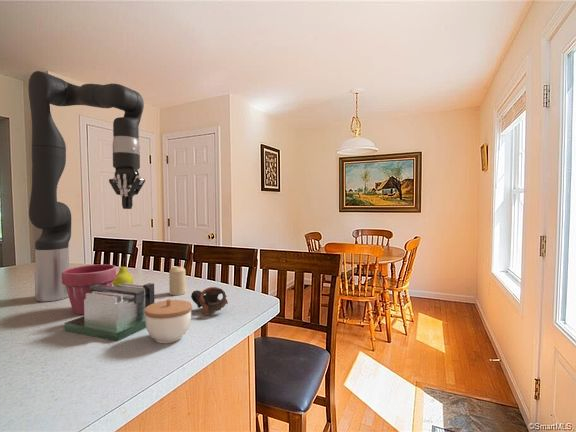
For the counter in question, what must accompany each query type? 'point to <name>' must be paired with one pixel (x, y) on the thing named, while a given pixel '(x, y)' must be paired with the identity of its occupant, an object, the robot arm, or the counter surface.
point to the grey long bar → (121, 291)
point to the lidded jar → (168, 320)
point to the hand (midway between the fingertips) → (127, 208)
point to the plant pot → (86, 282)
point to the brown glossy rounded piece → (209, 300)
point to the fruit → (123, 277)
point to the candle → (177, 280)
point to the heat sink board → (105, 330)
